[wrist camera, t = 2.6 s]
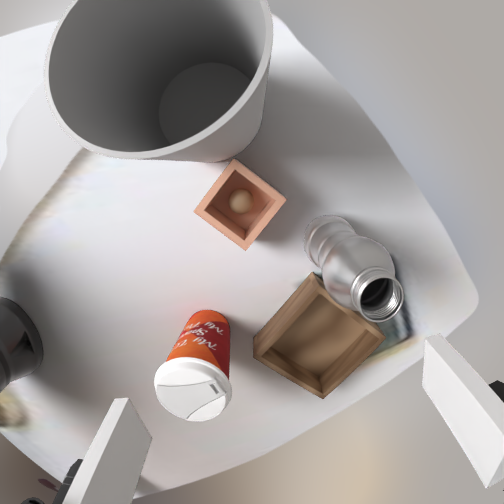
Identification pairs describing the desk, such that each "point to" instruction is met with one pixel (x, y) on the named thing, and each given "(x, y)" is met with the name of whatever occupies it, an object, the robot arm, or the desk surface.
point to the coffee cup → (197, 369)
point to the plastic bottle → (354, 268)
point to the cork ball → (241, 201)
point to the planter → (233, 224)
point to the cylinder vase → (160, 76)
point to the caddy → (316, 339)
